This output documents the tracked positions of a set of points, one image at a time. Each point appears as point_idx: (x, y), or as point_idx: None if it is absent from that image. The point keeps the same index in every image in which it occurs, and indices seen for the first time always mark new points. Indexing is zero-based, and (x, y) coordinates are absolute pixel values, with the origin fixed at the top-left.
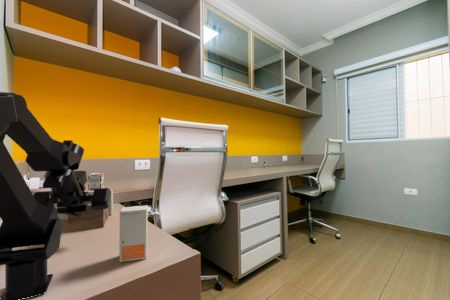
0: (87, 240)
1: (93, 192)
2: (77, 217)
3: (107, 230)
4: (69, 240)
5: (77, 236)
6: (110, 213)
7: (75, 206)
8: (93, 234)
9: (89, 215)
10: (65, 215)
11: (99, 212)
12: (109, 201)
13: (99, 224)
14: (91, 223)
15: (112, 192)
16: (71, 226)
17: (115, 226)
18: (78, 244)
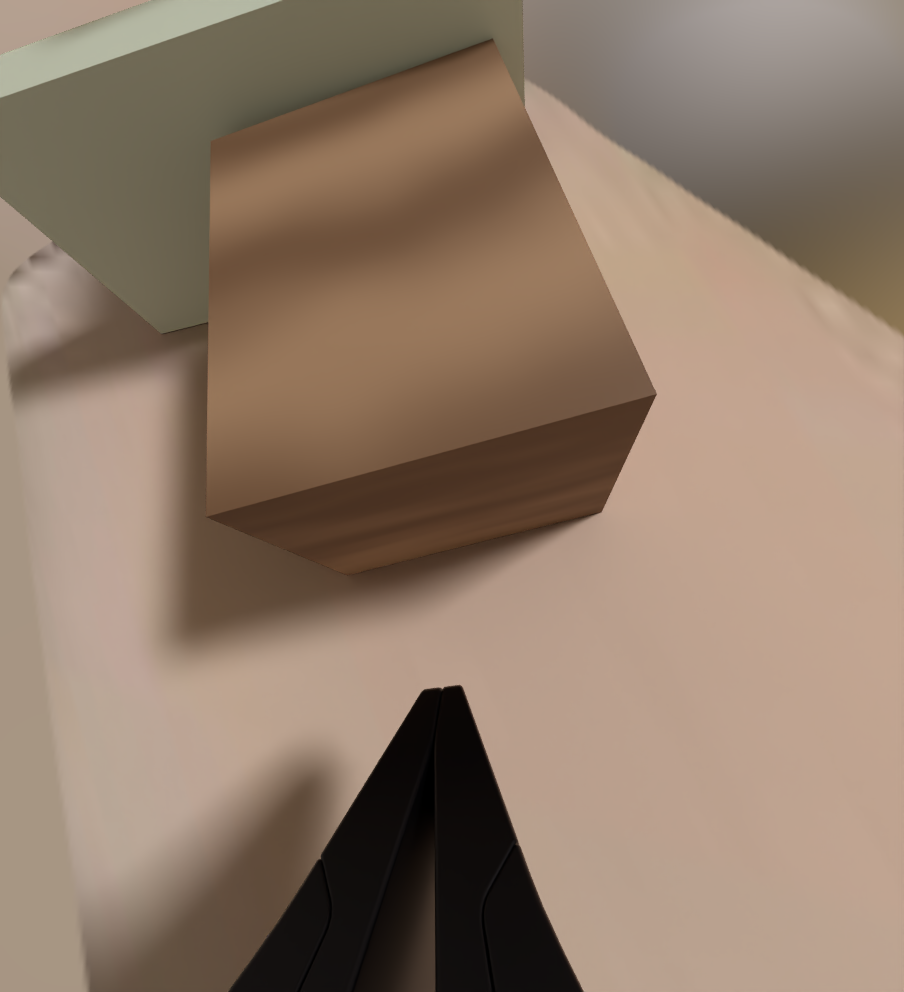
0: (627, 860)
1: (307, 7)
2: (370, 529)
3: (688, 600)
4: None
5: (473, 710)
6: None
7: (387, 962)
8: (601, 688)
9: (481, 496)
10: None
11: (588, 462)
12: None
13: (574, 510)
14: (506, 519)
15: None
16: (353, 559)
17: (712, 501)
18: (590, 965)
